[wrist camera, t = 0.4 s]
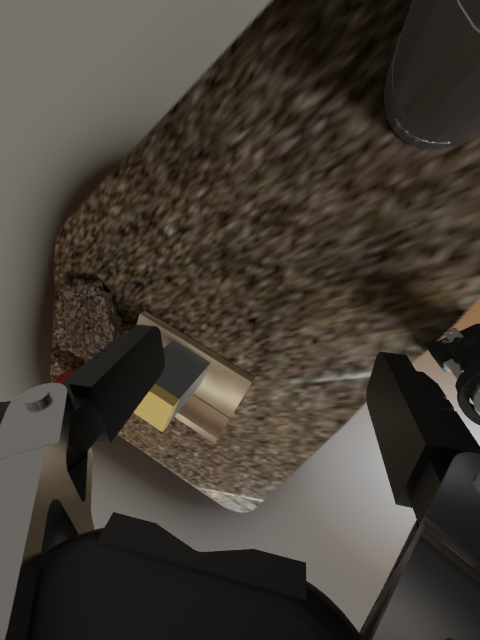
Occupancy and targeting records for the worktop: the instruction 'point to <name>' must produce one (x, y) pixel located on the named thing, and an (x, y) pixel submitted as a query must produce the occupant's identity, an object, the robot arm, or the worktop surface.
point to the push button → (461, 365)
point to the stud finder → (172, 385)
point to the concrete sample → (90, 317)
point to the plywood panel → (206, 384)
